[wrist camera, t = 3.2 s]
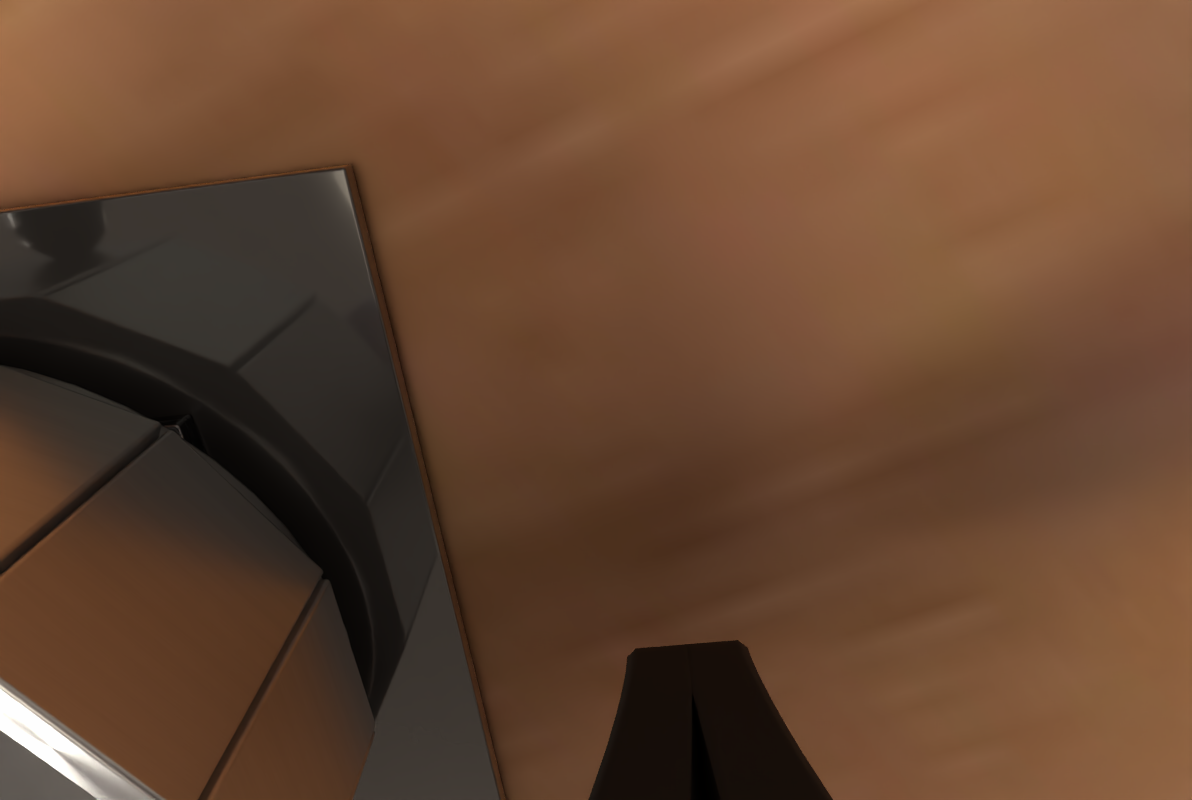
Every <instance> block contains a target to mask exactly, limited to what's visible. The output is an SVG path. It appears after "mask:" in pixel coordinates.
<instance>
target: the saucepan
mask: <svg viewBox="0 0 1192 800" xmlns="http://www.w3.org/2000/svg"><path fill="white" fill-rule="evenodd" d="M322 574H323V570H322V569H321V568H320V567H319V566H318V565H317V564H316V563H315V562H314V561H313V560H312V559H310V558H309V556H308V555H307V554H306V552H305V551H304V550H303V548H302V547H301V546H300V544H299V543H298V542H297V540H296V539H295V538H294V536H293V535H292V534H291V532H290V531H289V530H288V528H287V527H286V526H285V525H284V524H283V523H282V522H281V521H280V520H279V519H278V518H277V517H276V516H275V515H274V514H273V512H272V511H271V510H270V509H269V508H268V507H267V506H266V505H265V504H264V503H263V502H262V501H261V500H260V499H259V498H258V497H257V496H256V495H255V494H254V493H253V492H252V491H251V490H250V489H249V488H247V487H246V486H245V485H244V484H243V483H242V482H240V481H239V480H238V479H237V478H236V477H234V476H233V475H232V474H231V473H230V472H228V471H227V470H226V469H225V468H224V467H223V466H221V465H220V464H219V463H218V462H217V461H215V460H214V459H212V458H211V457H209V456H208V455H207V454H205V451H204V448H203V446H202V443H201V440H200V437H199V435H198V432H197V429H196V427H195V424H194V421H193V418H192V416H191V415H190V414H184V415H174V416H165V417H156V418H147V417H145V416H143V415H141V414H139V413H138V412H136V411H134V410H132V409H130V408H128V407H127V406H124V405H122V404H120V403H117V402H115V401H113V400H110V399H108V398H105V397H103V396H101V395H98V394H96V393H93V392H91V391H89V390H86V389H84V388H81V387H79V386H77V385H74V384H71V383H67V382H64V381H61V380H57V379H54V378H51V377H47V376H44V375H41V374H38V373H34V372H31V371H28V370H24V369H20V368H14V367H9V366H4V365H0V800H353V797H354V795H355V792H356V789H357V786H358V783H359V780H360V777H361V774H362V772H363V769H364V766H365V763H366V760H367V757H368V754H369V751H370V749H371V746H372V743H373V740H374V737H375V731H374V728H375V721H374V717H373V714H372V711H371V708H370V705H369V702H368V699H367V696H366V692H365V689H364V686H363V683H362V680H361V677H360V674H359V671H358V667H357V664H356V661H355V658H354V655H353V652H352V649H351V646H350V642H349V638H348V633H347V631H346V628H345V626H344V623H343V621H342V617H341V614H340V611H339V608H338V605H337V602H336V599H335V596H334V592H333V589H332V586H331V583H330V581H329V580H327V579H322V577H321V576H322Z"/></svg>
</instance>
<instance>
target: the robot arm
mask: <svg viewBox="0 0 1192 800" xmlns="http://www.w3.org/2000/svg"><path fill="white" fill-rule="evenodd" d="M589 800H833V799H832V797H831V796H830V794H829V793H828V791H827V790H826V788H825V787H824V785H823V784H822V782H821V781H820V779H819V777H818V776H817V774H816V773H815V771H814V770H813V768H812V767H811V765H810V764H809V762H808V761H807V759H806V757H805V756H804V754H803V753H802V751H801V750H800V748H799V746H798V745H797V743H796V741H795V740H794V738H793V736H792V735H791V733H790V731H789V730H788V728H787V726H786V724H785V723H784V721H783V719H782V717H781V716H780V714H779V712H778V710H777V709H776V707H775V705H774V703H773V701H772V700H771V698H770V696H769V694H768V692H767V690H766V688H765V686H764V684H763V682H762V680H761V678H760V676H759V674H758V672H757V670H756V667H755V665H754V663H753V661H752V658H751V656H750V653H749V650H748V648H747V647H746V646H745V645H744V644H742V643H741V642H740V641H738V640H734V641H721V642H709V643H697V644H685V645H673V646H660V647H648V648H636V649H635V650H634V651H633V652H632V653H631V654H630V655H629V656H628V657H627V665H626V673H625V679H624V684H623V689H622V693H621V698H620V702H619V706H618V710H617V713H616V717H615V721H614V724H613V727H612V731H611V734H610V738H609V741H608V745H607V748H606V751H605V753H604V756H603V759H602V762H601V765H600V768H599V771H598V774H597V777H596V780H595V783H594V785H593V788H592V791H591V794H590V797H589Z"/></svg>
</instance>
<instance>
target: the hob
mask: <svg viewBox="0 0 1192 800" xmlns="http://www.w3.org/2000/svg"><path fill="white" fill-rule="evenodd" d="M0 365H4V366H9V367H14V368H20V369H24V370H28V371H31V372H34V373H38V374H41V375H44V376H47V377H51V378H54V379H57V380H61V381H64V382H67V383H71V384H74V385H77V386H79V387H81V388H84V389H86V390H89V391H91V392H93V393H96V394H98V395H101V396H103V397H105V398H108V399H110V400H113V401H115V402H117V403H120V404H122V405H124V406H127V407H128V408H130V409H132V410H134V411H136V412H138V413H139V414H141V415H143V416H145V417H147V418H156V417H165V416H174V415H184V414H190V415H191V416H192V418H193V421H194V424H195V427H196V429H197V432H198V435H199V437H200V440H201V443H202V446H203V448H204V451H205V454H207V455H208V456H209V457H211V458H212V459H214V460H215V461H217V462H218V463H219V464H220V465H221V466H223V467H224V468H225V469H226V470H227V471H228V472H230V473H231V474H232V475H233V476H234V477H236V478H237V479H238V480H239V481H240V482H242V483H243V484H244V485H245V486H246V487H247V488H249V489H250V490H251V491H252V492H253V493H254V494H255V495H256V496H257V497H258V498H259V499H260V500H261V501H262V502H263V503H264V504H265V505H266V506H267V507H268V508H269V509H270V510H271V511H272V512H273V514H274V515H275V516H276V517H277V518H278V519H279V520H280V521H281V522H282V523H283V524H284V525H285V526H286V527H287V528H288V530H289V531H290V532H291V534H292V535H293V536H294V538H295V539H296V540H297V542H298V543H299V544H300V546H301V547H302V548H303V550H304V551H305V552H306V554H307V555H308V556H309V558H310V559H312V560H313V561H314V562H315V563H316V564H317V565H318V566H319V567H320V568H321V569H322V570H323V574H322V576H321V577H322V579H327V580H329V581H330V583H331V586H332V589H333V592H334V596H335V599H336V602H337V605H338V608H339V611H340V614H341V617H342V621H343V623H344V626H345V628H346V631H347V633H348V638H349V642H350V646H351V649H352V652H353V655H354V658H355V661H356V664H357V667H358V671H359V674H360V677H361V680H362V683H363V686H364V689H365V692H366V696H367V699H368V702H369V705H370V708H371V711H372V714H373V717H374V721H375V728H374V731H375V737H374V740H373V743H372V746H371V749H370V751H369V754H368V757H367V760H366V763H365V766H364V769H363V772H362V774H361V777H360V780H359V783H358V786H357V789H356V792H355V795H354V797H353V800H506V798H505V794H504V790H503V786H502V782H501V777H500V773H499V769H498V765H497V761H496V757H495V753H494V749H493V744H492V740H491V736H490V732H489V728H488V724H487V720H486V716H485V712H484V707H483V703H482V699H481V695H480V691H479V687H478V683H477V679H476V674H475V670H474V666H473V662H472V658H471V654H470V650H469V646H468V642H467V637H466V633H465V629H464V625H463V621H462V617H461V613H460V609H459V604H458V600H457V596H456V592H455V588H454V584H453V580H452V576H451V572H450V567H449V563H448V559H447V555H446V551H445V547H444V543H443V539H442V534H441V530H440V526H439V522H438V518H437V514H436V510H435V506H434V502H433V497H432V493H431V489H430V485H429V481H428V477H427V473H426V469H425V464H424V460H423V456H422V452H421V448H420V444H419V440H418V436H417V431H416V427H415V423H414V419H413V415H412V411H411V407H410V403H409V399H408V394H407V390H406V386H405V382H404V378H403V374H402V370H401V366H400V361H399V357H398V353H397V349H396V345H395V341H394V337H393V333H392V329H391V324H390V320H389V316H388V312H387V308H386V304H385V300H384V296H383V291H382V287H381V283H380V279H379V275H378V271H377V267H376V263H375V259H374V254H373V250H372V246H371V242H370V238H369V234H368V230H367V226H366V221H365V217H364V213H363V209H362V205H361V201H360V197H359V193H358V189H357V184H356V180H355V176H354V172H353V168H352V166H351V165H349V164H348V165H340V166H332V167H325V168H317V169H309V170H301V171H294V172H286V173H278V174H271V175H263V176H255V177H247V178H240V179H232V180H224V181H217V182H209V183H201V184H193V185H186V186H178V187H170V188H163V189H155V190H147V191H139V192H132V193H124V194H116V195H109V196H101V197H93V198H85V199H78V200H70V201H62V202H55V203H47V204H39V205H31V206H24V207H16V208H8V209H1V210H0Z"/></svg>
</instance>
